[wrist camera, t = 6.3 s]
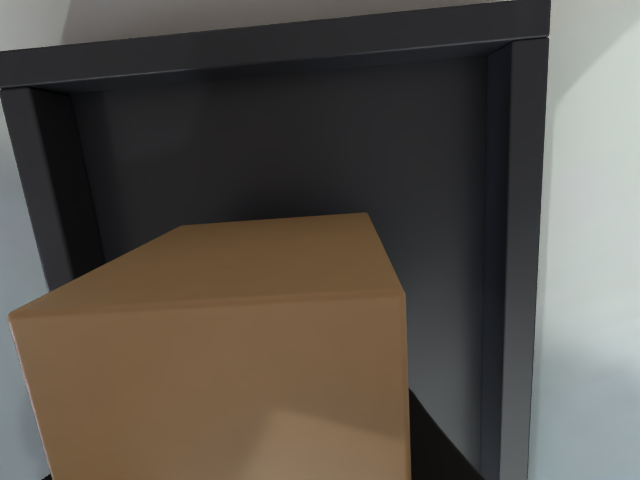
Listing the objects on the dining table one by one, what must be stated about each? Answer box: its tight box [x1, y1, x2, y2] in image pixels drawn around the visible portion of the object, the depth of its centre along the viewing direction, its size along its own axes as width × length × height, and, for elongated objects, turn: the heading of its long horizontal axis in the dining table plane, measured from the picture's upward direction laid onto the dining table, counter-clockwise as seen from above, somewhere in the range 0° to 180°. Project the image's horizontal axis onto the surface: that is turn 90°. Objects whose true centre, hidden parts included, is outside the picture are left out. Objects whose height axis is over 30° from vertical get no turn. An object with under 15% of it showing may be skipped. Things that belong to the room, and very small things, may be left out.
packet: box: [8, 212, 411, 480], centre depth 8 cm, size 9×4×5 cm, turn 4°
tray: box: [0, 0, 551, 480], centre depth 12 cm, size 18×13×2 cm
